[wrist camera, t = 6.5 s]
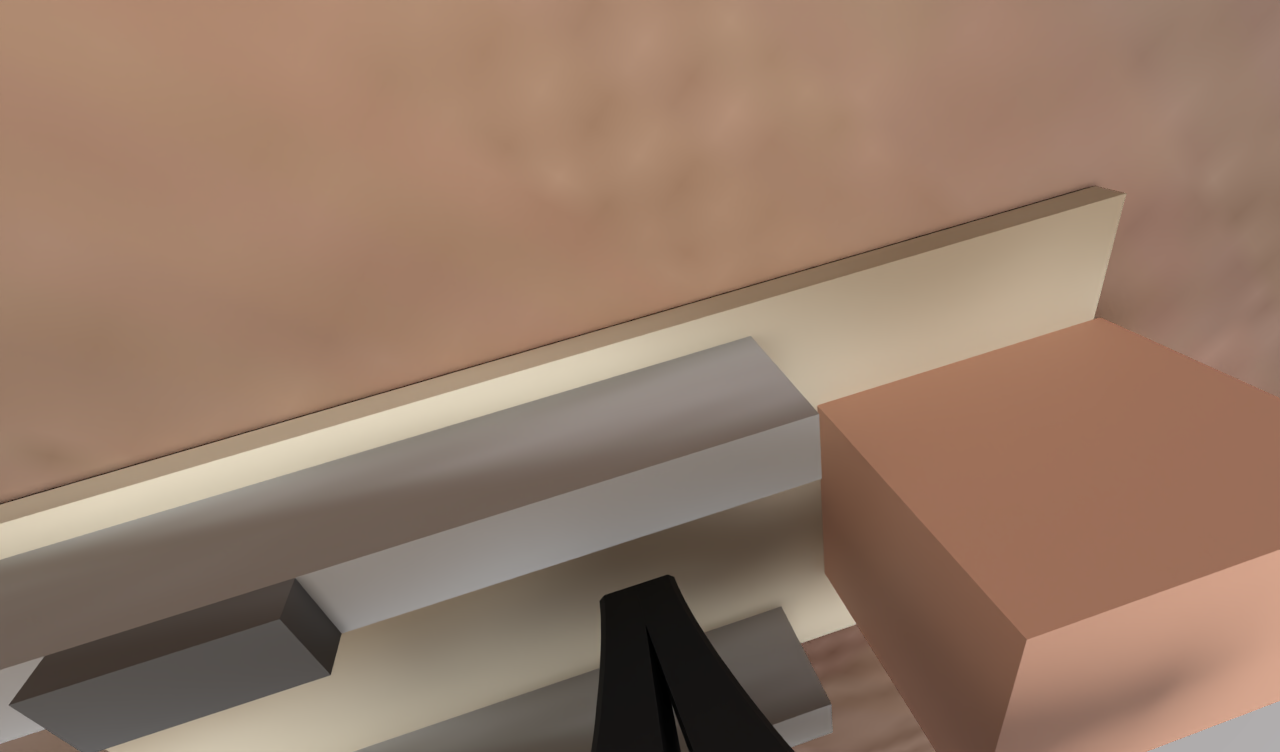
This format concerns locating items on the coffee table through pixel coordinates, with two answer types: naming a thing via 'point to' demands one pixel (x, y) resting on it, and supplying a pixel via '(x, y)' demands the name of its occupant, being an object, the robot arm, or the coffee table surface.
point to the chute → (505, 519)
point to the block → (1061, 542)
